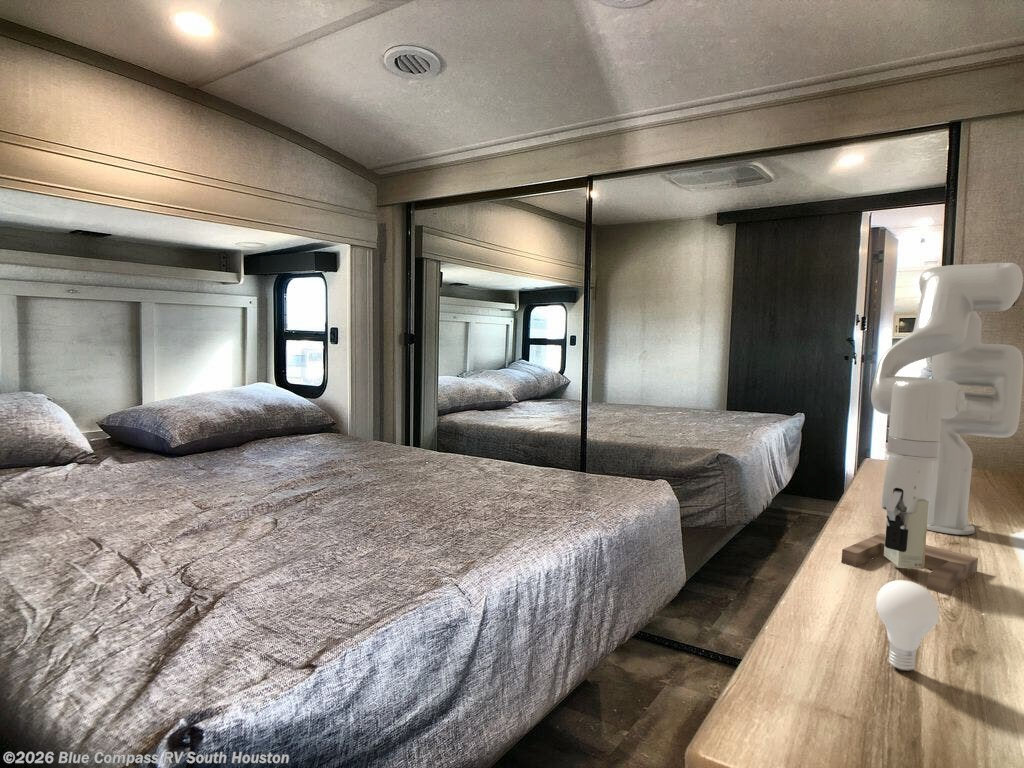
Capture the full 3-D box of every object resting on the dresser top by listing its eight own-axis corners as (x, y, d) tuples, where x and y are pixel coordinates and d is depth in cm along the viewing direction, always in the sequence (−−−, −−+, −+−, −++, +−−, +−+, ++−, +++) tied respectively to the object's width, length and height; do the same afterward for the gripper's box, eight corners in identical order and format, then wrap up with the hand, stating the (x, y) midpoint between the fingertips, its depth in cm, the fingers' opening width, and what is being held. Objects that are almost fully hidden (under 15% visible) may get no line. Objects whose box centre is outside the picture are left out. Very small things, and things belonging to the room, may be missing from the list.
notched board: (879, 545, 118) (880, 533, 118) (976, 571, 106) (978, 557, 105) (841, 562, 107) (842, 549, 107) (944, 593, 95) (946, 579, 94)
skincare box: (924, 570, 101) (931, 502, 100) (896, 567, 101) (902, 499, 101) (907, 557, 107) (913, 493, 106) (881, 554, 108) (887, 491, 107)
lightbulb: (858, 655, 74) (866, 571, 73) (905, 655, 74) (912, 571, 73) (895, 684, 67) (904, 593, 67) (946, 684, 68) (955, 593, 67)
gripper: (906, 441, 111) (898, 531, 112) (869, 448, 100) (861, 548, 102) (953, 448, 105) (944, 543, 106) (919, 456, 94) (910, 561, 96)
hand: (903, 544), depth 104 cm, fingers closed on skincare box, 7 cm apart
